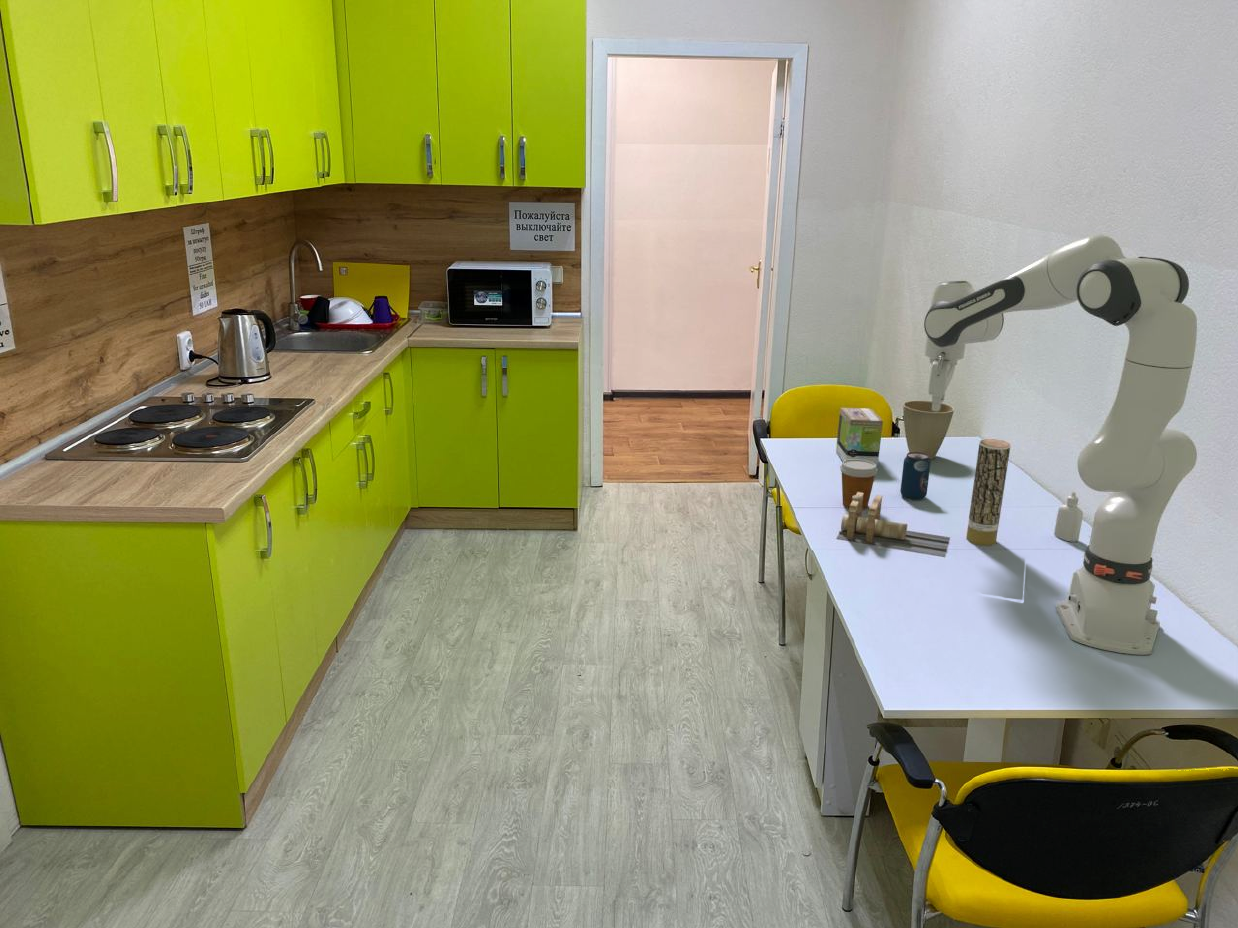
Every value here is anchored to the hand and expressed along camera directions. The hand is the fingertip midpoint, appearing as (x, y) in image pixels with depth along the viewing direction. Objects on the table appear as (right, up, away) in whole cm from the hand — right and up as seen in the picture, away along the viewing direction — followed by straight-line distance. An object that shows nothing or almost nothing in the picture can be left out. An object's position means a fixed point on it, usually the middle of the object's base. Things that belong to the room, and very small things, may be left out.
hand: (937, 406), depth 230 cm
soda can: (+3, -23, +30) cm, 38 cm away
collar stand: (-11, -32, 0) cm, 34 cm away
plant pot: (+17, -12, +66) cm, 69 cm away
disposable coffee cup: (-15, -26, +22) cm, 37 cm away
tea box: (-4, -13, +61) cm, 63 cm away
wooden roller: (-15, -31, +2) cm, 35 cm away
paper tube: (+10, -33, 0) cm, 35 cm away
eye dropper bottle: (+33, -32, +4) cm, 46 cm away
